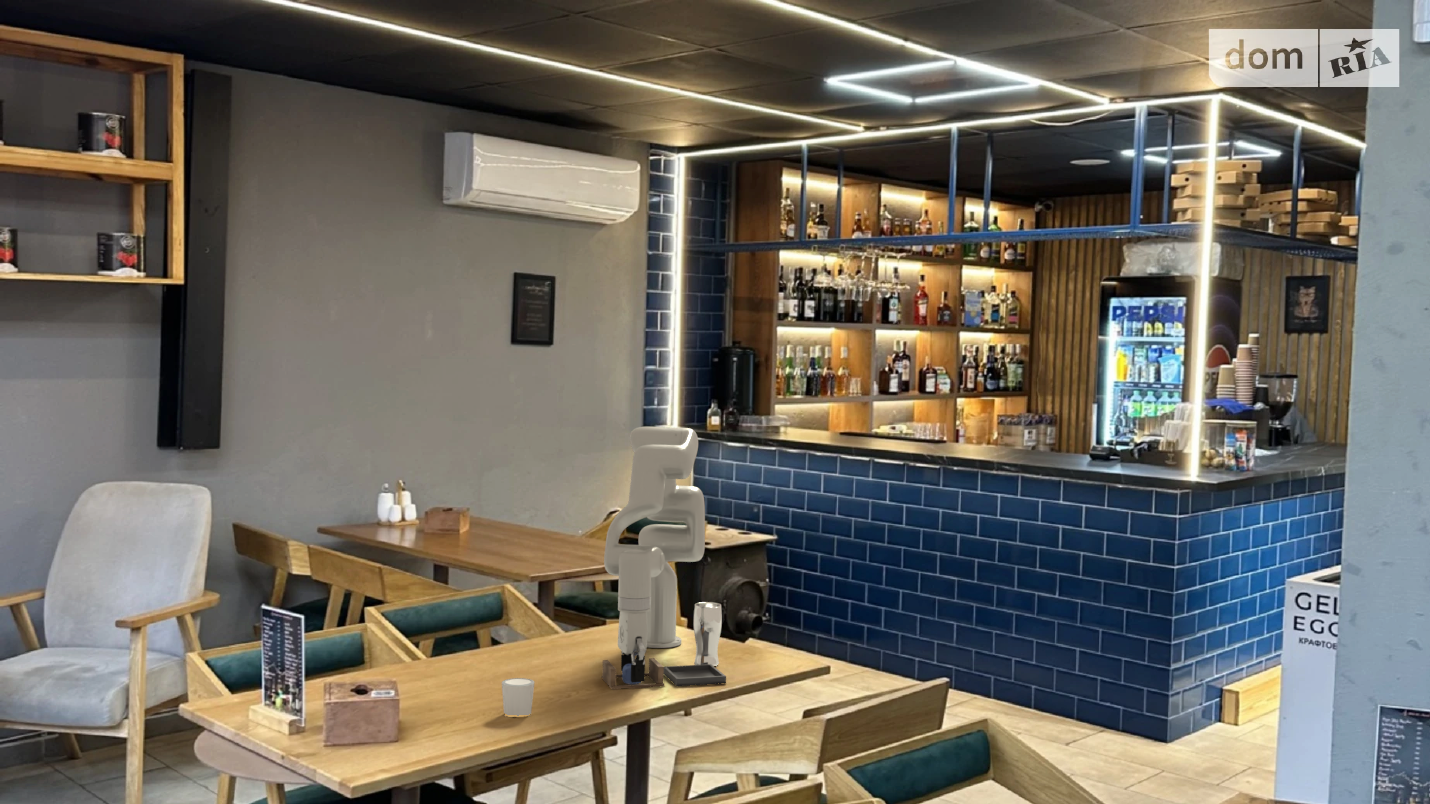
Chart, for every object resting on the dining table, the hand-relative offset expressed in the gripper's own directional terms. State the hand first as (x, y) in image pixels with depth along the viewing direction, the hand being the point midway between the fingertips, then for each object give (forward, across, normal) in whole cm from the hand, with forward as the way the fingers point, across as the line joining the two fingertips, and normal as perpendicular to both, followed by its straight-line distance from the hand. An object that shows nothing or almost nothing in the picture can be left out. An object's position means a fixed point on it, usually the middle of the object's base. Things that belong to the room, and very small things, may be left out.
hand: (632, 676), depth 303 cm
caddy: (+1, 0, 0) cm, 1 cm away
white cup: (+2, +21, -30) cm, 37 cm away
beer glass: (+2, -13, +22) cm, 26 cm away
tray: (+1, 0, +15) cm, 15 cm away
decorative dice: (+2, 0, 0) cm, 2 cm away
